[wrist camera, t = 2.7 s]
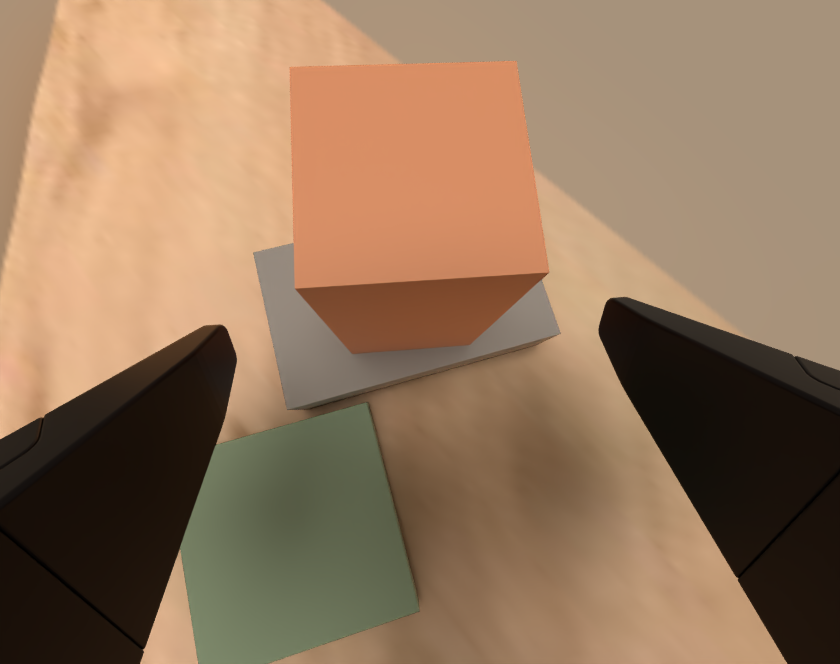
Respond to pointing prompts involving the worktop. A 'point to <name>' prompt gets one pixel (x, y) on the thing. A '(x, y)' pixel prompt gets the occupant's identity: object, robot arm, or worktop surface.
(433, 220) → the terracotta block
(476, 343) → the slate block
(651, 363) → the robot arm
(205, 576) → the green mat
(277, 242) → the worktop surface
